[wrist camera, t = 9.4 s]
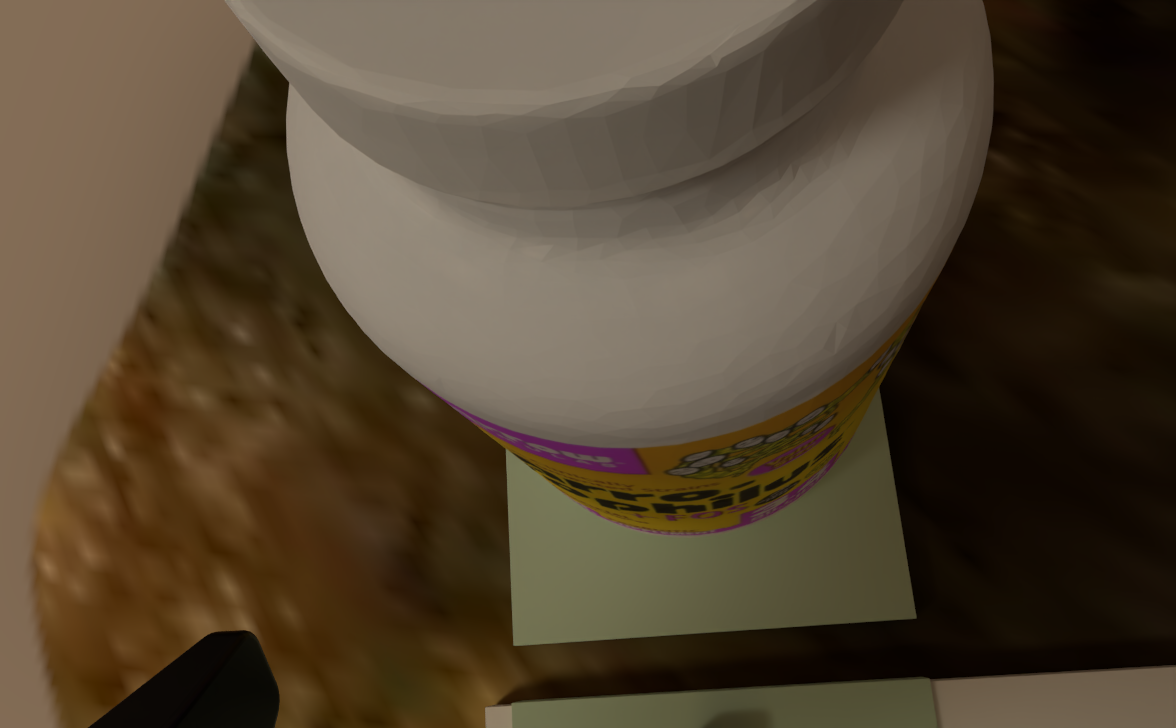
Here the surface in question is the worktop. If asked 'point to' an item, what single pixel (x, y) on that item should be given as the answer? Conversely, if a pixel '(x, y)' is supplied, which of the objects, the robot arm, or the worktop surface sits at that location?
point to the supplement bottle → (639, 220)
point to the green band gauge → (773, 613)
